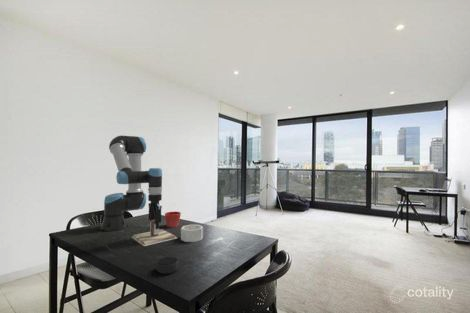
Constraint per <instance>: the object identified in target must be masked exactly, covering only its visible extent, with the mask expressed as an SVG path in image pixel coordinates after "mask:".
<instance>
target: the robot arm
mask: <svg viewBox="0 0 470 313" xmlns="http://www.w3.org/2000/svg"><path fill="white" fill-rule="evenodd" d="M108 148H109V152H110V154H112V156H113V158H114V162H115V165H116V167H117V170H118V172H117V173H116V175H115V178H116V182H117V184H119V185H128V187H127V188H128V190H126V192H125V194H124V193H123V192H117V193H112V194H111V193H110V194H107V195H105V197H104V201H103V206H104V208H103V212H104V213H103V219H102V221H101V225H100V230H101V231H103V230H104V231H103V232H112V231H119V230H122V229H125V228H126V226H127V224H126V220H125V218H124V212H130V211H139V210H143V209H144V208H145V206H146V203H147V199H148V201H149V203H148V220H149V223H150V224H149V232H150V233H151V220H155V223H154V235H156V234H159V230H160V224H161V223H162V207H163V206H162V205H160V201H162V199H163V198H162V196H163V195H162V189H163V185H162V184H163V170H162V168H161V167H152V168H151V167H150V168H149V169H148V170H142V157H143V155H144V153H145V152H146V151H147V142H146V140H145V139H144V137H142V136H134V135H132V136H131V135H117V136H115V137H114V138H112V139H111V140H110V142H109V145H108ZM142 184H148V188H147V191H148V196H147V194H146V193H145V192H144V190H143V189H142Z"/></svg>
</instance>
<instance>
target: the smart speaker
mask: <svg viewBox="0 0 470 313" xmlns="http://www.w3.org/2000/svg"><path fill="white" fill-rule="evenodd" d="M178 269H179V259H178V258H177V257H174V256H165V257H162V258H159V259H158V260H157V262H156V272H157V273H159V274H162V275H168V274H173V273H174V272H175V273H176V271H178Z"/></svg>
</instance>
